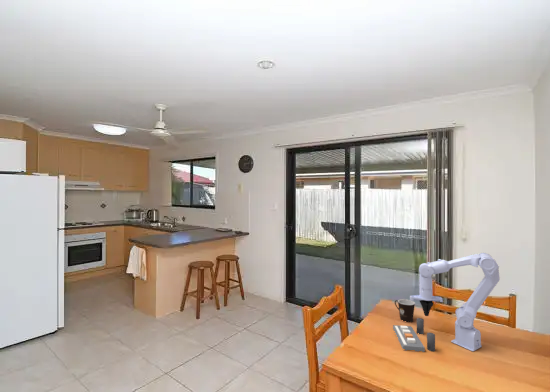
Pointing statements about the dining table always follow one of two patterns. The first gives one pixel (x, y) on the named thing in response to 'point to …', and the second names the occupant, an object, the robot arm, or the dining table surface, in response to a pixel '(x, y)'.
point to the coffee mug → (406, 309)
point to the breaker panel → (408, 338)
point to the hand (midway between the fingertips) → (426, 315)
